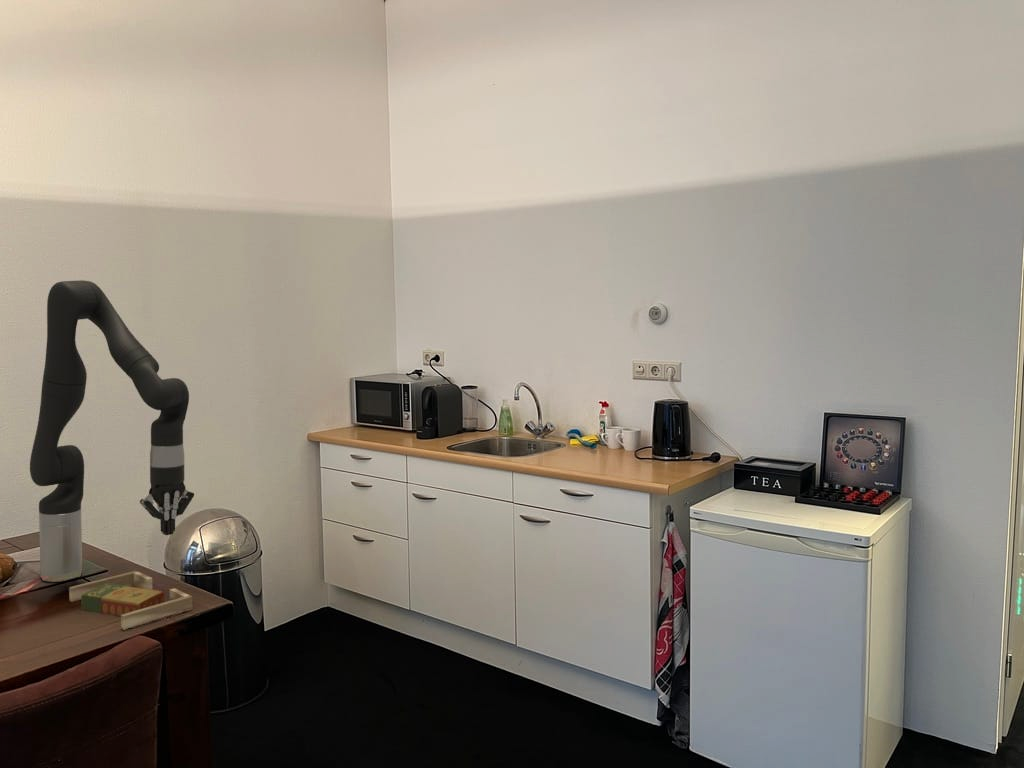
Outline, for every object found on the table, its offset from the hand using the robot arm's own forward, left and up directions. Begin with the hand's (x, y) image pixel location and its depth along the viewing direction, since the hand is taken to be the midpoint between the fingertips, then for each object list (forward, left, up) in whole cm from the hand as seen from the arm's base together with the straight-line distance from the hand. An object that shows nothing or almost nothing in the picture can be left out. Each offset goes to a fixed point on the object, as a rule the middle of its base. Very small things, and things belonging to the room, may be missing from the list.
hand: (167, 534), depth 194 cm
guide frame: (0, -9, -15) cm, 18 cm away
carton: (0, -11, -16) cm, 19 cm away
